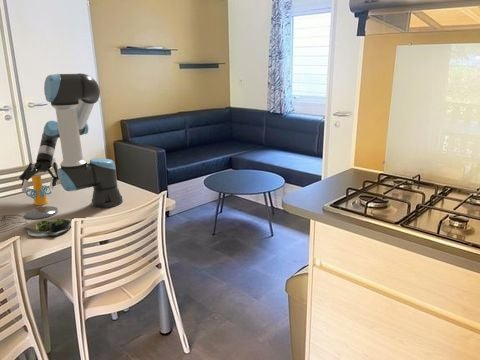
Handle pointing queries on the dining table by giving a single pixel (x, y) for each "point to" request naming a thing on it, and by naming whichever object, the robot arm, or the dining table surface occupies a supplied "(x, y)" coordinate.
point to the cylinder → (38, 191)
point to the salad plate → (50, 228)
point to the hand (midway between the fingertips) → (37, 191)
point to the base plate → (41, 212)
